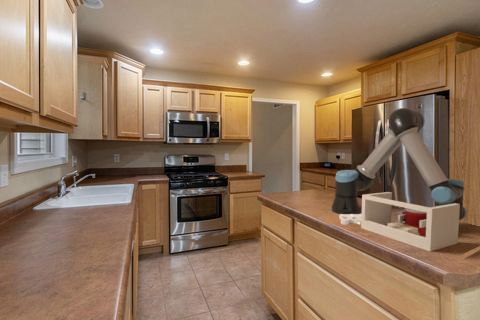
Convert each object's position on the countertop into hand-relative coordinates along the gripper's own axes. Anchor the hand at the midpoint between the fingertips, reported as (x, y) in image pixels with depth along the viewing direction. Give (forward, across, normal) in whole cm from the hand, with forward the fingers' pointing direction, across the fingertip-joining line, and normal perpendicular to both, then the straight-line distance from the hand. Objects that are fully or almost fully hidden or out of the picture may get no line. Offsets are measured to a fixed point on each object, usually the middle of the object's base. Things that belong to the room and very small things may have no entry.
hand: (409, 221), depth 105 cm
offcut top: (+4, 0, -3) cm, 5 cm away
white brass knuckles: (+2, +23, -7) cm, 24 cm away
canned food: (-5, 0, -7) cm, 8 cm away
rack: (+1, 0, -7) cm, 7 cm away
